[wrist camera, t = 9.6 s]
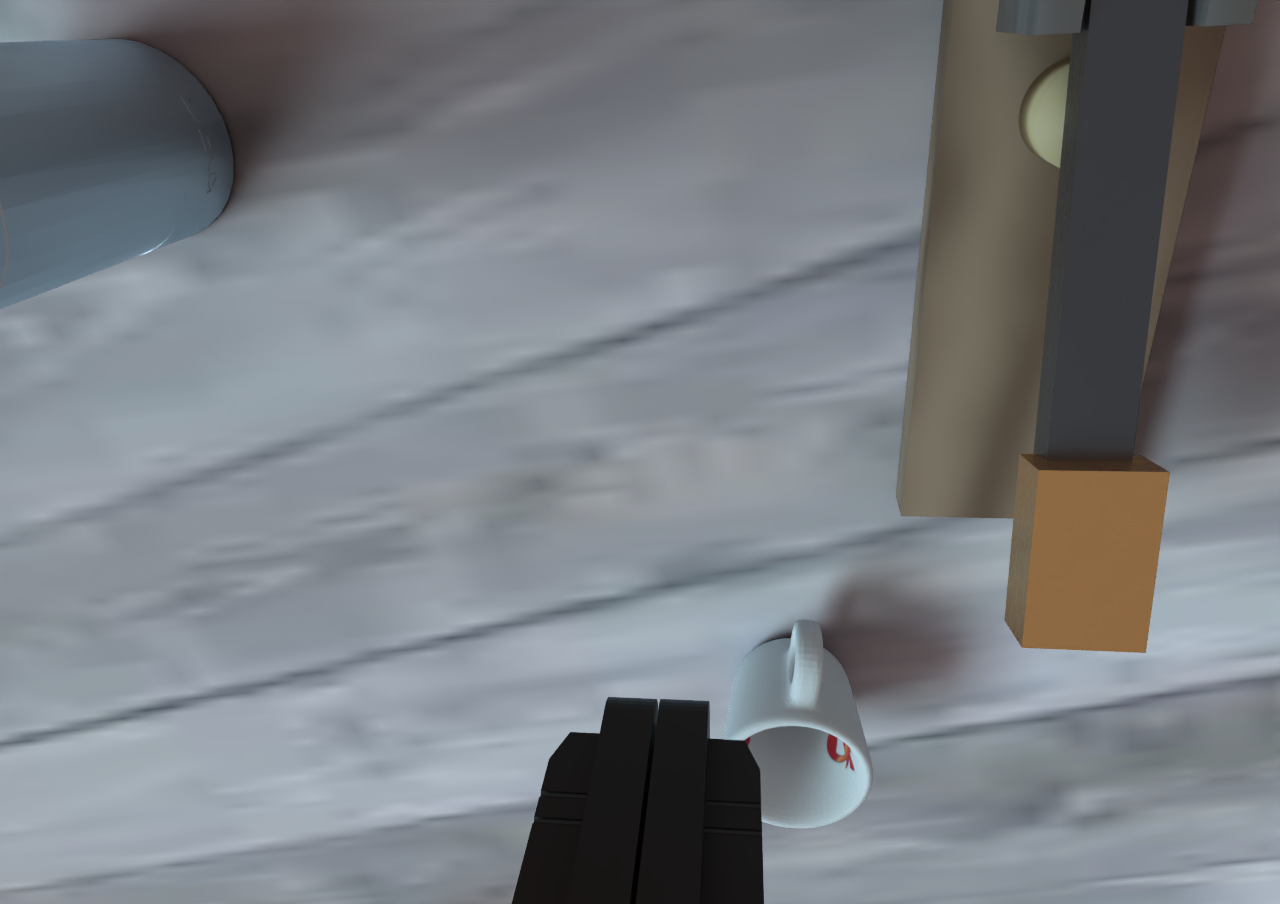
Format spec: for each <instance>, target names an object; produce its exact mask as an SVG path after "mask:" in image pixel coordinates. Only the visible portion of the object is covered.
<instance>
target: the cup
mask: <svg viewBox="0 0 1280 904" xmlns="http://www.w3.org/2000/svg"><path fill="white" fill-rule="evenodd" d="M723 739H726V740H745V742H746V744H747V746H748V747H749V749H750V751H751V753H752V755H753V757H754V759H755V761H756V763H757V764H758V766H759V768H760V777H761V815H762V821H763V822H766V823H769V824H772V825H776V826H780V827H787V828H814V827H819V826H824V825H828V824H831V823H834V822H836V821H839V820H841V819H843V818H844V817H846V816H848V815H850V814H851V813H852V812H853V811H855V810H856V809H857V808H858V807H859V806H860V805H861V804H862V803H863V801H864V800H865V799H866V797H867V795H868V793H869V791H870V788H871V785H872V780H873V767H872V761H871V758H870V754H869V750H868V747H867V743H866V740H865V736H864V733H863V729H862V725H861V722H860V718H859V715H858V711H857V708H856V704H855V700H854V697H853V693H852V690H851V686H850V683H849V680H848V677H847V675H846V673H845V671H844V669H843V667H842V666H841V664H840V663H839V661H838V660H837V659H836V658H835V657H834V656H833V655H832V654H831V653H830V652H829V651H828V650H826V649H825V648H823V639H822V633H821V629H820V627H819V625H818V624H817V623H815V622H814V621H809V620H798V621H796V623H795V624H794V627H793V631H792V636H791V638H784V639H777V640H773V641H769V642H767V643H764V644H762V645H760V646H758V647H757V648H755V649H754V650H753V651H751V652H750V653H749V654H748V655H747V656H746V657H745V659H744V660H743V661H742V663H741V664H740V666H739V668H738V671H737V673H736V676H735V679H734V683H733V688H732V693H731V698H730V704H729V709H728V714H727V719H726V725H725V730H724V735H723Z"/></svg>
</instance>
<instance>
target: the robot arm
mask: <svg viewBox="0 0 1280 904" xmlns="http://www.w3.org/2000/svg"><path fill="white" fill-rule="evenodd" d="M233 170H234V160H233V153H232V147H231V141H230V138H229V135H228V132H227V129H226V126H225V123H224V120H223V118H222V116H221V114H220V113H219V111H218V109H217V107H216V105H215V103H214V102H213V100H212V98H211V97H210V95H209V94H208V93H207V92H206V90H205V89H204V88H203V86H202V85H201V84H200V82H199V81H198V80H197V79H196V78H195V77H194V76H193V75H192V74H191V73H190V72H189V71H188V70H187V69H185V68H184V67H183V66H182V65H181V64H180V63H179V62H177V61H176V60H174V59H173V58H171V57H170V56H168V55H166V54H165V53H163V52H162V51H160V50H158V49H155V48H153V47H151V46H148V45H146V44H143V43H141V42H136V41H130V40H125V39H99V40H70V41H31V42H5V43H0V309H2V308H5V307H7V306H10V305H13V304H15V303H18V302H20V301H23V300H25V299H28V298H31V297H33V296H36V295H38V294H41V293H44V292H46V291H49V290H51V289H54V288H57V287H59V286H62V285H64V284H67V283H69V282H72V281H75V280H77V279H80V278H82V277H85V276H88V275H90V274H93V273H95V272H98V271H100V270H103V269H106V268H108V267H111V266H113V265H116V264H119V263H121V262H124V261H126V260H129V259H132V258H134V257H137V256H139V255H142V254H145V253H148V252H150V251H153V250H156V249H158V248H161V247H163V246H166V245H168V244H171V243H174V242H176V241H179V240H181V239H184V238H186V237H189V236H192V235H194V234H196V233H198V232H200V231H201V230H203V229H205V228H206V227H208V226H209V225H210V224H211V223H212V222H213V221H214V220H215V219H216V218H217V217H218V216H219V215H220V214H221V212H222V210H223V208H224V206H225V205H226V203H227V201H228V199H229V195H230V191H231V188H232V184H233ZM512 904H764V890H763V853H762V815H761V777H760V768H759V766H758V764H757V763H756V761H755V759H754V757H753V755H752V753H751V751H750V749H749V747H748V746H747V744H746V742H745V740H726V739H710V706H709V701H693V700H670V699H661V700H660V703H659V710H658V702H657V699H641V698H619V697H608V699H607V701H606V705H605V710H604V715H603V720H602V725H601V730H600V734H597V733H577V732H570V733H569V735H568V736H567V737H566V738H565V740H564V741H563V742H562V743H561V745H560V746H559V747H558V748H557V750H556V751H555V752H554V754H553V755H552V756H551V757H550V759H549V762H548V766H547V770H546V773H545V777H544V781H543V785H542V789H541V797H539V800H538V804H537V808H536V812H535V816H534V823H533V824H532V828H531V831H530V835H529V839H528V843H527V847H526V851H525V855H524V859H523V862H522V866H521V870H520V874H519V878H518V882H517V886H516V889H515V893H514V897H513V901H512Z"/></svg>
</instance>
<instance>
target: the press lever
mask: <svg viewBox="0 0 1280 904" xmlns="http://www.w3.org/2000/svg"><path fill="white" fill-rule="evenodd" d="M1188 1H1189V0H1085V6H1084V12H1083V18H1082V24H1081V30H1080V33H1072V44H1071V54H1070V65H1069V76H1068V87H1067V97H1066V108H1065V119H1064V130H1063V140H1062V151H1061V162H1060V173H1059V184H1058V194H1057V205H1056V216H1055V227H1054V237H1053V248H1052V259H1051V270H1050V280H1049V291H1048V302H1047V313H1046V323H1045V334H1044V345H1043V356H1042V366H1041V377H1040V388H1039V399H1038V409H1037V420H1036V431H1035V442H1034V452H1033V454H1019V464H1018V476H1017V487H1016V498H1015V509H1014V521H1013V532H1012V543H1011V554H1010V566H1009V577H1008V588H1007V599H1006V611H1005V622H1006V623H1007V625H1008V626H1009V628H1010V630H1011V631H1012V633H1013V634H1014V636H1015V637H1016V639H1017V641H1018V642H1019V644H1020V645H1021V647H1022V648H1044V649H1068V650H1092V651H1116V652H1141V653H1146V647H1147V640H1148V632H1149V625H1150V617H1151V610H1152V602H1153V595H1154V587H1155V580H1156V572H1157V565H1158V557H1159V550H1160V542H1161V535H1162V527H1163V520H1164V512H1165V505H1166V497H1167V490H1168V482H1169V475H1170V472H1169V471H1167V470H1165V469H1164V468H1162V467H1160V466H1158V465H1157V464H1155V463H1153V462H1151V461H1150V460H1148V459H1146V458H1144V457H1143V456H1141V455H1133V451H1134V443H1135V435H1136V427H1137V418H1138V410H1139V402H1140V394H1141V386H1142V377H1143V369H1144V361H1145V353H1146V345H1147V337H1148V328H1149V320H1150V312H1151V304H1152V296H1153V287H1154V279H1155V271H1156V263H1157V255H1158V246H1159V238H1160V230H1161V222H1162V214H1163V206H1164V197H1165V189H1166V181H1167V173H1168V165H1169V156H1170V148H1171V140H1172V132H1173V124H1174V116H1175V107H1176V99H1177V91H1178V83H1179V75H1180V66H1181V58H1182V50H1183V42H1184V34H1185V26H1186V17H1187V9H1188Z"/></svg>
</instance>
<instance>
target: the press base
mask: <svg viewBox="0 0 1280 904" xmlns="http://www.w3.org/2000/svg"><path fill="white" fill-rule="evenodd" d="M1257 1H1258V0H1189V1H1188V9H1187V17H1186V26H1185V34H1184V42H1183V50H1182V58H1181V66H1180V75H1179V83H1178V91H1177V99H1176V107H1175V116H1174V124H1173V132H1172V140H1171V148H1170V156H1169V165H1168V173H1167V181H1166V189H1165V197H1164V206H1163V214H1162V222H1161V230H1160V238H1159V246H1158V255H1157V263H1156V271H1155V279H1154V287H1153V296H1152V304H1151V312H1150V320H1149V328H1148V337H1147V345H1146V353H1145V361H1144V369H1143V377H1142V386H1143V381H1144V377H1145V373H1146V368H1147V364H1148V360H1149V355H1150V351H1151V347H1152V342H1153V338H1154V334H1155V329H1156V325H1157V321H1158V316H1159V312H1160V308H1161V303H1162V299H1163V295H1164V290H1165V286H1166V282H1167V278H1168V273H1169V269H1170V265H1171V260H1172V256H1173V252H1174V247H1175V243H1176V239H1177V234H1178V230H1179V226H1180V221H1181V217H1182V213H1183V208H1184V204H1185V200H1186V195H1187V191H1188V187H1189V182H1190V178H1191V174H1192V169H1193V165H1194V161H1195V157H1196V152H1197V148H1198V144H1199V139H1200V135H1201V131H1202V126H1203V122H1204V118H1205V113H1206V109H1207V105H1208V100H1209V96H1210V92H1211V87H1212V83H1213V79H1214V74H1215V70H1216V66H1217V61H1218V57H1219V53H1220V48H1221V44H1222V40H1223V36H1224V31H1225V27H1226V25H1240V24H1252V21H1253V17H1254V13H1255V9H1256V5H1257ZM1084 6H1085V0H944V4H943V15H942V25H941V35H940V46H939V56H938V66H937V77H936V87H935V97H934V108H933V118H932V128H931V139H930V149H929V159H928V170H927V180H926V190H925V201H924V211H923V221H922V232H921V242H920V252H919V263H918V273H917V283H916V294H915V304H914V314H913V325H912V335H911V345H910V356H909V366H908V376H907V387H906V397H905V407H904V418H903V428H902V438H901V449H900V459H899V469H898V480H897V490H896V498H897V502H898V506H899V509H900V513H901V516H926V517H972V518H1014V509H1015V498H1016V487H1017V476H1018V464H1019V454H1033V452H1034V442H1035V431H1036V420H1037V409H1038V399H1039V388H1040V377H1041V366H1042V356H1043V345H1044V334H1045V323H1046V313H1047V302H1048V291H1049V280H1050V270H1051V259H1052V248H1053V237H1054V227H1055V216H1056V205H1057V194H1058V184H1059V173H1060V162H1061V151H1062V140H1063V130H1064V119H1065V108H1066V97H1067V87H1068V76H1069V65H1070V54H1071V44H1072V33H1080V30H1081V24H1082V18H1083V12H1084ZM1142 386H1141V390H1142Z"/></svg>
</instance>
